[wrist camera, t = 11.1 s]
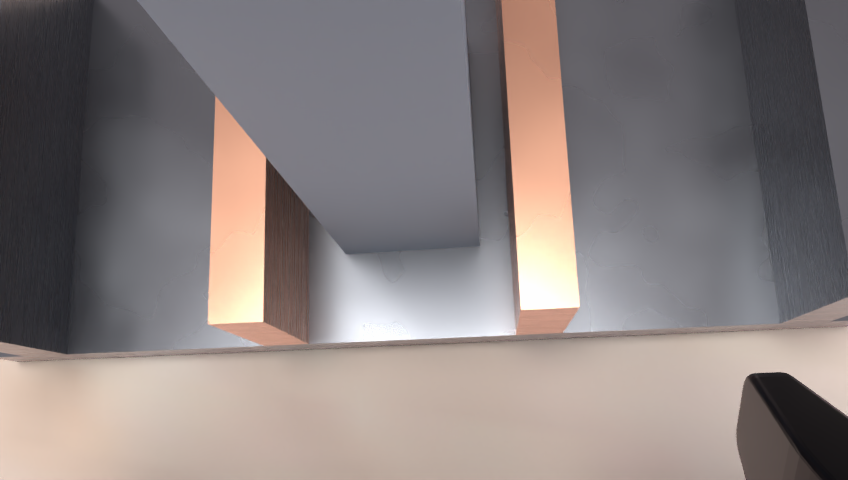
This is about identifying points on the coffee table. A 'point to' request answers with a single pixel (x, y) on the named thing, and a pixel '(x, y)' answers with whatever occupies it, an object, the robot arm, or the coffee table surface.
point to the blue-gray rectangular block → (348, 108)
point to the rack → (495, 179)
